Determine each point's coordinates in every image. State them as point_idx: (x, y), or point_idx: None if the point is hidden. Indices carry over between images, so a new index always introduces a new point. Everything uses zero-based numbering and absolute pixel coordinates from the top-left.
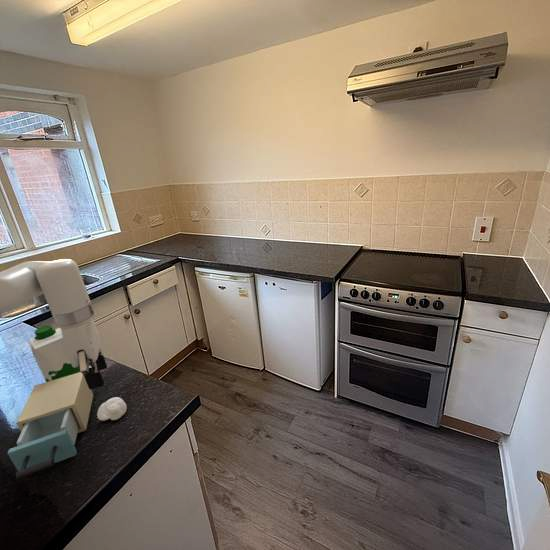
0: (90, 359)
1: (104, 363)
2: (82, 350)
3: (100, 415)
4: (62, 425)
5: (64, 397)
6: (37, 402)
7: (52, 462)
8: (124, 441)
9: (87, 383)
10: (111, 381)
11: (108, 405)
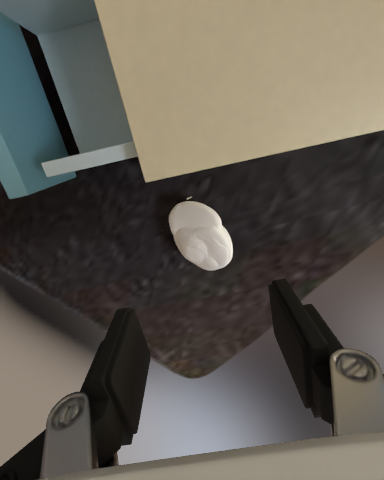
0: (309, 353)
1: (285, 360)
2: None
3: (180, 214)
4: (53, 165)
5: (208, 106)
6: None
7: None
8: (103, 277)
9: (107, 336)
10: (376, 172)
11: (201, 239)
